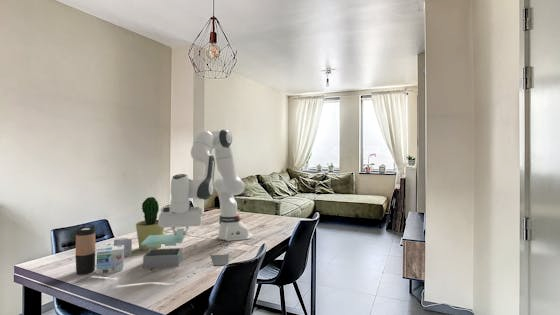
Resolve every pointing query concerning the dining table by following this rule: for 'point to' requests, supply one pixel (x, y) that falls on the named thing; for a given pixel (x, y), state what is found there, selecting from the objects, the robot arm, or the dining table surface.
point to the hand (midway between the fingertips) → (180, 235)
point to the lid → (164, 239)
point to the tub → (162, 257)
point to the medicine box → (126, 243)
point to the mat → (220, 259)
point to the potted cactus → (149, 223)
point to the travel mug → (85, 250)
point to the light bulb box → (110, 259)
